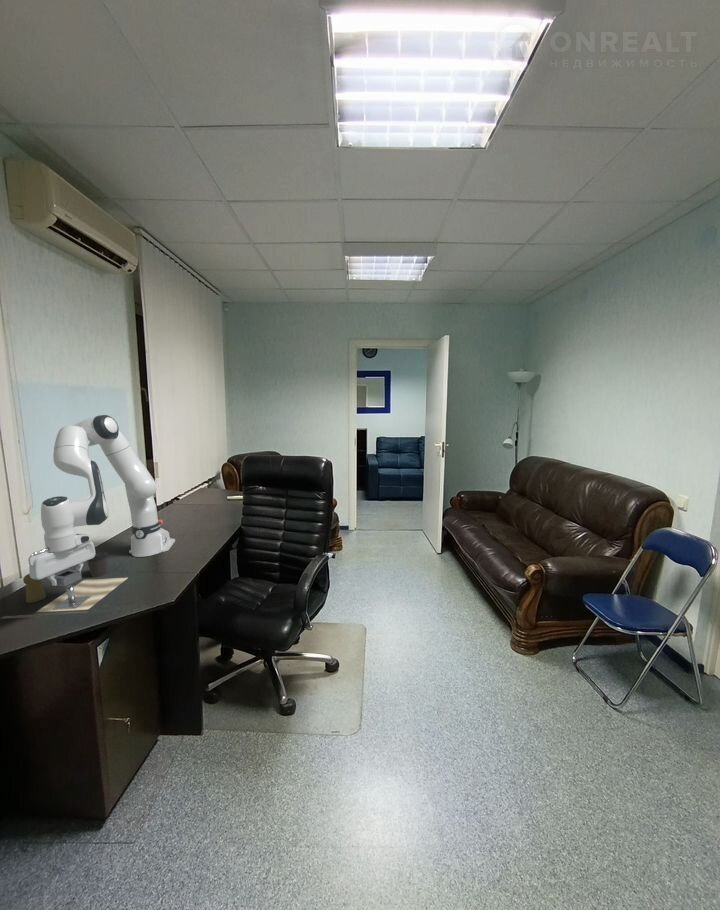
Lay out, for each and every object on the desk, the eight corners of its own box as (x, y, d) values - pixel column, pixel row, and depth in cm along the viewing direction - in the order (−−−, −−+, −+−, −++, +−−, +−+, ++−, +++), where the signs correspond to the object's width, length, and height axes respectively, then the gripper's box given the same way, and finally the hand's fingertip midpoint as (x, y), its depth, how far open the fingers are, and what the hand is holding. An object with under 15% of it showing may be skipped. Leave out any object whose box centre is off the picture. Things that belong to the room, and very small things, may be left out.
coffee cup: (114, 574, 160) (111, 552, 159) (93, 582, 154) (89, 559, 152) (106, 570, 165) (102, 549, 164) (84, 578, 158) (81, 555, 157)
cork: (25, 601, 140) (20, 574, 139) (46, 595, 145) (41, 568, 143) (26, 607, 136) (21, 579, 135) (48, 601, 140) (43, 573, 139)
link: (69, 577, 138) (68, 569, 138) (81, 578, 136) (80, 570, 136) (52, 584, 132) (51, 576, 132) (64, 586, 131) (63, 578, 130)
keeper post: (69, 598, 139) (66, 581, 139) (91, 596, 140) (88, 580, 139) (52, 609, 132) (49, 592, 131) (75, 608, 132) (72, 591, 131)
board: (84, 582, 154) (84, 579, 154) (128, 580, 155) (128, 577, 155) (36, 615, 131) (35, 612, 130) (88, 612, 131) (88, 609, 131)
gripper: (34, 555, 122) (40, 595, 123) (95, 534, 141) (100, 569, 143) (21, 553, 124) (27, 593, 125) (83, 532, 143) (88, 567, 145)
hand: (67, 580), depth 134 cm, fingers closed on link, 6 cm apart
